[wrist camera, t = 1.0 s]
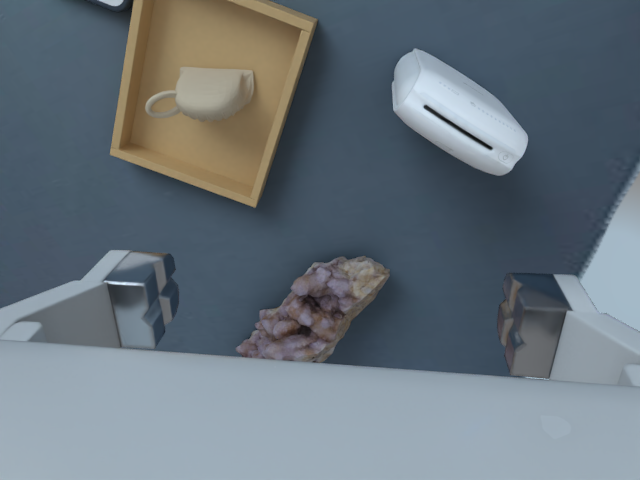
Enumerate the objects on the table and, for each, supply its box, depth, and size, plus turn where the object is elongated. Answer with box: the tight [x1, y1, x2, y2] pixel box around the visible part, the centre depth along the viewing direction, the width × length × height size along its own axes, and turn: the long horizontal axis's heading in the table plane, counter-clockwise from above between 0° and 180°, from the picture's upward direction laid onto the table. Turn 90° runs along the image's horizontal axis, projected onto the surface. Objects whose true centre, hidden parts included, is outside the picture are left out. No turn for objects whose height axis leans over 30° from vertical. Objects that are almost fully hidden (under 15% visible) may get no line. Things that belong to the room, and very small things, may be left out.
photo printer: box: [392, 49, 528, 176], centre depth 41 cm, size 10×4×12 cm, turn 60°
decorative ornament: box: [145, 67, 254, 122], centre depth 46 cm, size 4×8×5 cm, turn 87°
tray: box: [110, 0, 318, 207], centre depth 48 cm, size 18×15×3 cm
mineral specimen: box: [236, 256, 390, 363], centre depth 55 cm, size 20×10×10 cm
